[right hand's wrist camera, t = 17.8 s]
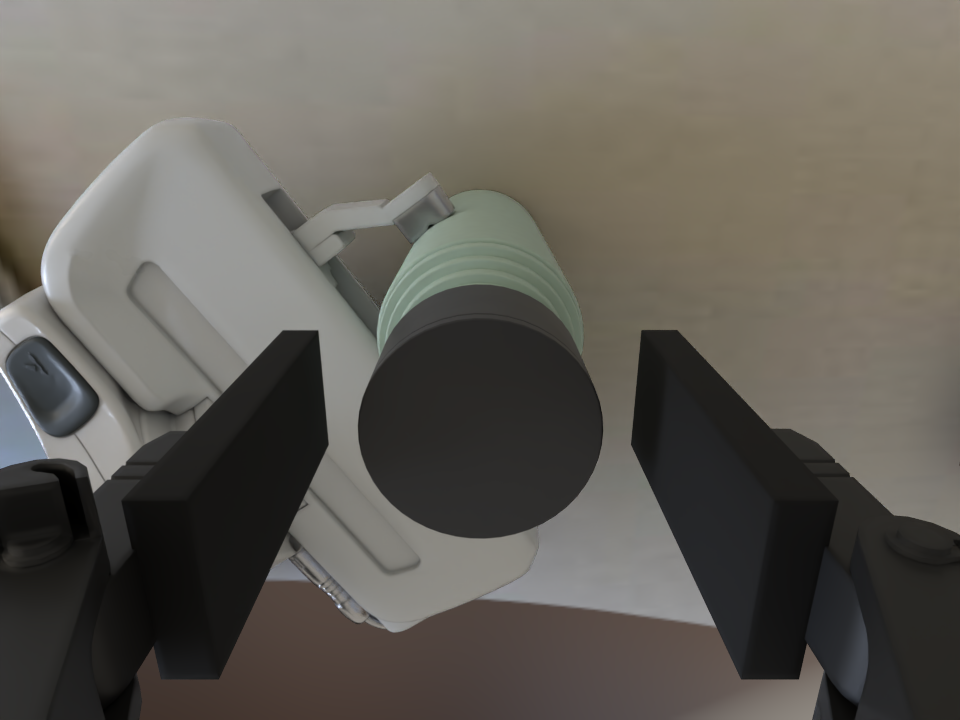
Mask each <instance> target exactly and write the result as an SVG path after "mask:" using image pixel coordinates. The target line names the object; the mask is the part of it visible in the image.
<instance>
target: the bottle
mask: <svg viewBox="0 0 960 720" xmlns="http://www.w3.org/2000/svg"><path fill="white" fill-rule="evenodd" d="M449 199H450V201H451V202H452V203H453V205H454V206H455V209H454V212H453V213H452V214H450V215H449V216H448V217H447V218H446V219H444V220H443V221H441V222H439V223H437V224H430V226H429V228H428V230H427V231H426V232H425V233H424V234H423V235H422V236H421V237H420V238H418V239H417V240H416V241H415V242H414V244H413V246H412V248H411V250H410V251H409V253H408V255H407V257H406V259H405V261H404V262H403V264H402V266H401V268H400V270H399V272H398V273H397V275H396V277H395V279H394V281H393V282H392V284H391V286H390V288H389V290H388V292H387V294H386V296H385V299H384V301H383V303H382V306H381V310H380V314H379V318H378V326H377V345H378V352H379V357H380V355H381V352H382V350H383V348H384V345H385V343H386V341H387V339H388V337H389V335H390V334H391V332H392V330H393V329H394V327H395V326H396V325H397V324H398V322H399V321H400V320H401V318H402V317H403V316H405V315H406V314H407V313H408V312H409V311H410V310H411V309H412V308H413V307H415V306H416V305H417V304H419V303H420V302H422V301H423V300H425V299H427V298H429V297H430V296H432V295H434V294H437V293H439V292H442V291H444V290H447V289H451V288H455V287H459V286H465V285H474V284H482V285H495V286H502V287H506V288H510V289H513V290H517V291H519V292H522V293H524V294H526V295H529V296H531V297H532V298H534V299H536V300H537V301H539V302H541V303H542V304H543V305H545V306H546V307H547V308H549V309H550V310H551V311H552V312H553V313H554V314H555V315H556V316H557V317H558V318H559V319H560V320H561V321H562V322H563V324H564V325H565V327H566V328H567V329H568V331H569V332H570V334H571V336H572V338H573V340H574V342H575V344H576V346H577V348H578V350H579V353H580V355H582V350H583V341H584V331H583V321H582V315H581V311H580V308H579V305H578V301H577V299H576V297H575V295H574V293H573V291H572V289H571V287H570V285H569V283H568V281H567V280H566V278H565V276H564V274H563V272H562V270H561V269H560V267H559V265H558V263H557V261H556V260H555V258H554V256H553V254H552V252H551V250H550V249H549V247H548V245H547V243H546V241H545V240H544V238H543V236H542V234H541V232H540V230H539V229H538V227H537V225H536V223H535V221H534V220H533V218H532V217H531V215H530V214H529V213H528V212H527V210H526V209H525V208H524V207H523V206H522V205H520V204H519V203H518V202H517V201H515V200H514V199H512V198H510V197H508V196H506V195H504V194H502V193H499V192H495V191H490V190H470V191H465V192H462V193H459V194H456V195H454V196H452V197H450V198H449Z"/></svg>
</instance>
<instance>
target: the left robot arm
mask: <svg viewBox="0 0 960 720" xmlns="http://www.w3.org/2000/svg"><path fill="white" fill-rule="evenodd" d="M438 184H439V183H438V181H437V180H436V179H435V177H434V176H433V175H432V173H431V172H429V173H428V174H426V175H425V176H423V177H422V178H421V179H419V180H418V181H417V182H415V183H414V184H413V185H411V186H410V187H409V188H407V189H406V190H405V191H403V192H402V193H401V194H399V195H398V196H397V197H395V198H394V199H393V200H392V201H389V200H388V199H380V200H370V201H359V202H349V203H339V204H333V205H331V206H329V207H327V208H325V209H324V210H322V211H320V212H319V213H317V214H316V215H315V216H313V217H312V218H311V219H308V218H307V217H306V215H305V214H304V213H303V212H302V210H301V209H300V208H299V207H298V205H297V204H296V203H295V201H294V200H293V199H292V198H291V196H290V195H289V194H288V193H287V191H286V190H285V189H284V188H283V186H282V185H281V184H280V183H279V181H278V180H277V179H276V178H275V176H274V175H273V174H272V173H271V171H270V170H269V169H268V167H267V166H266V165H265V164H264V162H263V161H262V160H261V159H260V157H259V156H258V155H257V154H256V152H255V151H254V150H253V149H252V147H251V146H250V145H249V143H248V142H247V141H246V140H245V138H244V137H243V136H242V134H241V133H240V132H239V131H238V130H237V129H236V128H235V127H234V126H233V125H231V124H229V123H227V122H224V121H218V120H212V119H205V118H196V117H178V118H171V119H167V120H163V121H161V122H159V123H156V124H155V125H153V126H152V127H150V128H148V129H147V130H146V131H145V132H143V133H142V134H141V135H140V136H139V137H138V138H136V139H135V140H134V141H133V142H132V143H131V144H130V145H129V146H128V147H127V148H126V149H124V150H123V151H122V152H121V153H120V154H119V155H118V156H117V157H116V158H115V159H114V160H113V161H112V162H111V163H110V164H109V165H108V166H107V167H106V168H105V169H104V170H103V172H102V173H101V174H100V175H99V176H98V177H97V178H96V179H95V180H94V181H93V182H92V183H91V185H90V186H89V187H88V188H87V189H86V190H85V191H84V193H83V194H82V195H81V196H80V197H79V198H78V199H77V201H76V202H75V203H74V204H73V206H72V207H71V208H70V209H69V211H68V212H67V213H66V214H65V216H64V217H63V218H62V219H61V221H60V222H59V224H58V225H57V226H56V228H55V229H54V231H53V232H52V234H51V236H50V238H49V240H48V242H47V244H46V247H45V250H44V253H43V257H42V263H41V278H42V284H43V285H42V286H40V287H38V288H36V289H34V290H32V291H30V292H28V293H26V294H25V295H23V296H22V297H20V298H18V299H17V300H15V301H14V302H12V303H10V304H9V305H7V306H6V307H4V308H3V309H1V310H0V373H1V374H2V376H3V377H4V379H5V381H6V382H7V384H8V386H9V387H10V389H11V391H12V392H13V394H14V396H15V397H16V399H17V401H18V402H19V404H20V406H21V407H22V409H23V411H24V413H25V415H26V416H27V418H28V420H29V422H30V424H31V425H32V427H33V429H34V431H35V433H36V435H37V437H38V439H39V441H40V443H41V445H42V447H43V449H44V451H45V453H46V456H47V458H48V459H55V458H62V459H69V460H76V461H78V462H80V463H81V464H83V465H85V466H86V467H87V470H88V474H89V478H90V482H91V486H92V490H93V493H94V492H95V491H96V490H97V489H98V488H99V487H100V486H101V485H102V484H103V483H104V482H105V481H106V480H111V476H112V475H113V474H114V473H115V472H116V471H117V470H118V469H119V468H120V467H121V466H122V465H126V461H127V460H128V459H129V458H130V457H131V456H132V455H134V454H135V453H136V452H137V451H138V450H139V449H140V448H141V447H142V446H143V445H145V444H147V443H148V442H150V441H152V440H154V439H156V438H158V437H160V436H162V435H164V434H165V433H167V432H169V431H188V430H189V428H190V427H191V426H192V425H193V424H194V423H195V422H196V421H197V420H198V419H199V418H200V417H201V416H202V415H203V414H204V413H205V412H206V411H207V410H208V408H209V407H210V406H211V405H212V404H213V403H214V402H215V401H216V400H217V399H218V398H219V397H220V396H221V395H222V394H223V393H224V392H225V391H226V389H227V388H228V387H229V386H230V385H231V384H232V383H233V382H234V381H235V380H236V379H237V378H238V377H239V376H240V375H241V374H242V373H243V372H244V371H245V369H246V368H247V367H248V366H249V365H250V364H251V363H252V362H253V361H254V360H255V359H256V358H257V357H258V356H259V355H260V354H261V353H262V352H263V351H264V349H265V348H266V347H267V346H268V345H269V344H270V343H271V342H272V341H273V340H274V339H275V338H276V337H277V336H278V335H279V334H280V333H281V332H282V331H283V330H318V331H319V342H320V353H321V364H322V375H323V386H324V397H325V407H326V418H327V429H328V440H329V445H328V448H327V450H326V452H325V454H324V456H323V458H322V460H321V463H320V465H319V467H318V469H317V471H316V473H315V475H314V477H313V480H312V482H311V484H310V486H309V488H308V490H307V492H306V495H305V497H304V499H303V501H302V503H301V505H300V507H299V509H298V512H297V514H296V516H295V518H294V520H293V522H292V524H291V526H290V529H289V531H288V533H287V535H286V537H285V539H284V541H283V544H282V546H281V548H280V550H279V552H278V554H277V556H276V558H275V561H274V563H273V565H272V567H271V569H273V568H274V567H276V566H277V565H279V564H281V563H282V562H284V561H285V560H287V559H289V560H290V561H291V562H292V563H293V564H294V565H295V566H296V567H297V568H298V569H299V570H300V571H301V572H302V573H303V574H304V575H305V576H306V577H307V578H308V579H309V580H310V581H311V582H312V583H313V584H314V585H316V586H317V587H318V588H320V589H321V590H322V591H323V592H325V593H326V594H327V595H328V596H329V597H330V598H331V599H332V600H333V601H334V602H335V605H336V607H337V608H338V610H339V611H340V612H341V613H342V614H343V615H344V616H345V617H346V618H348V619H349V620H351V621H352V622H354V623H356V624H361V623H363V622H366V623H367V624H369V625H371V626H374V627H376V628H380V629H386V630H389V631H391V632H400V631H404V630H406V629H409V628H411V627H412V626H414V625H416V624H417V623H419V622H421V621H423V620H424V619H426V618H428V617H430V616H433V615H436V614H438V613H441V612H444V611H447V610H450V609H452V608H455V607H457V606H460V605H462V604H464V603H467V602H469V601H472V600H474V599H476V598H479V597H481V596H483V595H485V594H488V593H490V592H492V591H494V590H496V589H498V588H500V587H503V586H505V585H507V584H509V583H511V582H513V581H514V580H516V579H518V578H520V577H521V576H523V575H524V574H525V573H527V572H528V570H529V569H530V568H531V566H532V564H533V561H534V559H535V556H536V553H537V550H538V547H539V534H538V526H536V527H534V528H532V529H530V530H527V531H524V532H521V533H517V534H514V535H509V536H504V537H498V538H488V539H473V538H463V537H456V536H451V535H447V534H443V533H440V532H437V531H434V530H432V529H429V528H426V527H424V526H422V525H421V524H419V523H417V522H415V521H413V520H411V519H410V518H408V517H407V516H405V515H404V514H402V513H401V512H400V511H399V510H398V509H396V508H395V507H394V506H393V505H392V504H391V503H390V502H389V501H388V500H387V499H386V498H385V497H384V496H383V495H382V494H381V492H380V491H379V489H378V488H377V487H376V485H375V484H374V482H373V481H372V479H371V477H370V475H369V473H368V471H367V469H366V467H365V464H364V461H363V458H362V455H361V451H360V446H359V441H358V418H359V410H360V406H361V402H362V398H363V395H364V393H365V390H366V388H367V385H368V383H369V380H370V378H371V376H372V373H373V371H374V369H375V366H376V364H377V362H378V359H379V352H378V345H377V326H378V318H379V314H380V309H379V307H378V306H377V305H376V304H375V302H374V301H373V300H372V299H371V297H370V296H369V295H368V294H367V292H366V291H365V290H364V289H363V287H362V286H361V285H360V283H359V282H358V281H357V280H356V278H355V277H354V276H353V275H352V273H351V272H350V271H349V270H348V268H347V267H346V266H345V265H344V263H343V262H342V261H341V260H340V258H339V257H338V256H337V254H338V253H339V252H340V251H341V250H343V249H344V248H345V247H346V246H347V245H348V244H349V243H350V242H351V241H353V240H354V239H355V236H356V234H355V232H354V231H353V229H361V228H370V227H379V226H388V225H395V224H396V226H397V227H398V228H399V230H400V231H401V232H402V233H403V235H404V236H405V237H406V239H407V240H408V241H409V242H410V244H411V243H413V242H414V241H415V240H417V239H418V238H420V237H421V236H422V235H423V234H424V233H425V232H426V231H427V230H428V228H429V226H430V224H437V223H439V222H441V221H443V220H444V219H446V218H447V217H448V216H449V215H450V214H452V213H453V212H454V209H455V206H454V205H453V203H452V202H451V201H450V199H449V198H448V196H447V195H446V193H445V192H444V190H443V189H442V187H441V186H440V184H439V185H438ZM271 569H270V570H271Z"/></svg>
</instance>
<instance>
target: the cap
mask: <svg viewBox="0 0 960 720" xmlns="http://www.w3.org/2000/svg"><path fill="white" fill-rule="evenodd" d="M602 436H603V419H602V412H601V407H600V402H599V399H598V396H597V393H596V390H595V388H594V385H593V383H592V381H591V378H590V376H589V374H588V371H587V369H586V367H585V364H584V362H583V360H582V357H581V355H580V353H579V350H578V348H577V346H576V344H575V342H574V340H573V338H572V336H571V334H570V332H569V331H568V329H567V328H566V327H565V325H564V324H563V322H562V321H561V320H560V319H559V318H558V317H557V316H556V315H555V314H554V313H553V312H552V311H551V310H550V309H549V308H547V307H546V306H545V305H543V304H542V303H541V302H539V301H537V300H536V299H534V298H532V297H531V296H529V295H526V294H524V293H522V292H519V291H517V290H513V289H510V288H506V287H502V286H495V285H482V284H474V285H465V286H459V287H455V288H451V289H447V290H444V291H442V292H439V293H437V294H434V295H432V296H430V297H429V298H427V299H425V300H423V301H422V302H420V303H419V304H417V305H416V306H415V307H413V308H412V309H411V310H410V311H409V312H408V313H407V314H406V315H405V316H403V317H402V318H401V320H400V321H399V322H398V324H397V325H396V326H395V327H394V329H393V330H392V332H391V334H390V335H389V337H388V339H387V341H386V343H385V345H384V348H383V350H382V352H381V355H380V357H379V359H378V362H377V364H376V366H375V369H374V371H373V373H372V376H371V378H370V380H369V383H368V385H367V388H366V390H365V393H364V395H363V398H362V402H361V406H360V410H359V418H358V441H359V446H360V451H361V455H362V458H363V461H364V464H365V467H366V469H367V471H368V473H369V475H370V477H371V479H372V481H373V482H374V484H375V485H376V487H377V488H378V489H379V491H380V492H381V494H382V495H383V496H384V497H385V498H386V499H387V500H388V501H389V502H390V503H391V504H392V505H393V506H394V507H395V508H396V509H398V510H399V511H400V512H401V513H402V514H404V515H405V516H407V517H408V518H410V519H411V520H413V521H415V522H417V523H419V524H421V525H422V526H424V527H426V528H429V529H432V530H434V531H437V532H440V533H443V534H447V535H451V536H456V537H463V538H473V539H488V538H498V537H504V536H509V535H514V534H517V533H521V532H524V531H527V530H530V529H532V528H534V527H536V526H538V525H540V524H543V523H544V522H546V521H548V520H549V519H551V518H552V517H554V516H556V515H557V514H558V513H559V512H561V511H562V510H563V509H565V508H566V507H567V506H568V505H569V504H570V503H571V502H572V501H573V500H574V499H575V498H576V497H577V496H578V494H579V493H580V492H581V490H582V489H583V488H584V486H585V485H586V483H587V482H588V480H589V478H590V476H591V475H592V473H593V471H594V468H595V466H596V463H597V461H598V458H599V454H600V450H601V446H602Z"/></svg>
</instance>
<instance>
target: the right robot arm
mask: <svg viewBox="0 0 960 720" xmlns="http://www.w3.org/2000/svg"><path fill="white" fill-rule="evenodd" d="M328 445H329V440H328V429H327V418H326V407H325V397H324V386H323V375H322V364H321V353H320V342H319V331H318V330H283V331H282V332H281V333H280V334H279V335H278V336H277V337H276V338H275V339H274V340H273V341H272V342H271V343H270V344H269V345H268V346H267V347H266V348H265V349H264V351H263V352H262V353H261V354H260V355H259V356H258V357H257V358H256V359H255V360H254V361H253V362H252V363H251V364H250V365H249V366H248V367H247V368H246V369H245V371H244V372H243V373H242V374H241V375H240V376H239V377H238V378H237V379H236V380H235V381H234V382H233V383H232V384H231V385H230V386H229V387H228V388H227V389H226V391H225V392H224V393H223V394H222V395H221V396H220V397H219V398H218V399H217V400H216V401H215V402H214V403H213V404H212V405H211V406H210V407H209V408H208V410H207V411H206V412H205V413H204V414H203V415H202V416H201V417H200V418H199V419H198V420H197V421H196V422H195V423H194V424H193V425H192V426H191V427H190V428H189V430H188V431H169V432H167V433H165V434H164V435H162V436H160V437H158V438H156V439H154V440H152V441H150V442H148V443H147V444H145V445H143V446H142V447H141V448H140V449H139V450H138V451H137V452H136V453H135V454H134V455H132V456H131V457H130V458H129V459H128V460H127V461H126V465H122V466H121V467H120V468H119V469H118V470H117V471H116V472H115V473H114V474H113V475H112V476H111V480H106V481H105V482H104V483H103V484H102V485H101V486H100V487H99V488H98V489H97V490H96V491H95V492H94V493H93V490H92V486H91V482H90V478H89V474H88V470H87V467H86V466H85V465H83V464H81V463H80V462H78V461H76V460H69V459H62V458H55V459H41V460H33V461H29V462H24V463H19V464H15V465H10V466H7V467H5V468H2V469H0V720H139V717H140V711H141V703H142V698H141V691H140V686H139V681H138V677H137V671H138V669H139V668H140V666H141V665H142V663H143V661H144V660H145V658H146V656H147V655H148V653H149V652H150V650H151V649H152V647H153V645H154V650H155V654H156V659H157V663H158V667H159V672H160V676H161V679H219V678H220V676H221V674H222V671H223V669H224V667H225V665H226V663H227V661H228V659H229V656H230V654H231V652H232V650H233V648H234V646H235V644H236V642H237V639H238V637H239V635H240V633H241V631H242V629H243V627H244V625H245V622H246V620H247V618H248V616H249V614H250V612H251V610H252V607H253V605H254V603H255V601H256V599H257V597H258V595H259V593H260V590H261V588H262V586H263V584H264V582H265V580H266V578H267V576H268V573H269V571H270V569H271V567H272V565H273V563H274V561H275V558H276V556H277V554H278V552H279V550H280V548H281V546H282V544H283V541H284V539H285V537H286V535H287V533H288V531H289V529H290V526H291V524H292V522H293V520H294V518H295V516H296V514H297V512H298V509H299V507H300V505H301V503H302V501H303V499H304V497H305V495H306V492H307V490H308V488H309V486H310V484H311V482H312V480H313V477H314V475H315V473H316V471H317V469H318V467H319V465H320V463H321V460H322V458H323V456H324V454H325V452H326V450H327V448H328ZM631 445H632V448H633V450H634V452H635V454H636V456H637V458H638V460H639V463H640V465H641V467H642V469H643V471H644V473H645V475H646V477H647V480H648V482H649V484H650V486H651V488H652V490H653V492H654V495H655V497H656V499H657V501H658V503H659V505H660V507H661V509H662V512H663V514H664V516H665V518H666V520H667V522H668V524H669V526H670V529H671V531H672V533H673V535H674V537H675V539H676V541H677V544H678V546H679V548H680V550H681V552H682V554H683V556H684V558H685V561H686V563H687V565H688V567H689V569H690V571H691V573H692V576H693V578H694V580H695V582H696V584H697V586H698V588H699V590H700V593H701V595H702V597H703V599H704V601H705V603H706V605H707V607H708V610H709V612H710V614H711V616H712V618H713V620H714V622H715V625H716V627H717V629H718V631H719V633H720V635H721V637H722V639H723V642H724V644H725V646H726V648H727V650H728V652H729V654H730V656H731V659H732V661H733V663H734V665H735V667H736V669H737V671H738V674H739V676H740V678H741V679H799V676H800V672H801V667H802V663H803V658H804V654H805V650H806V645H807V644H808V645H809V647H810V648H811V650H812V652H813V653H814V655H815V656H816V658H817V659H818V661H819V663H820V664H821V666H822V667H823V669H824V673H823V677H822V681H821V686H820V690H819V694H818V698H817V702H816V707H815V710H814V715H813V719H812V720H960V535H959V534H957V533H955V532H953V531H950V530H948V529H946V528H943V527H941V526H938V525H936V524H934V523H931V522H927V521H923V520H919V519H915V518H911V517H905V516H894V515H893V514H892V513H890V512H889V511H888V510H887V509H886V508H885V507H884V506H883V505H882V504H881V503H880V502H879V501H878V500H877V499H876V498H875V497H874V496H873V495H872V494H870V493H869V492H868V491H867V490H866V489H865V488H864V487H863V486H862V485H861V484H860V483H859V482H858V481H857V480H856V479H855V478H854V477H850V476H849V473H848V472H847V471H846V470H845V469H844V468H843V467H842V466H841V465H840V464H839V463H835V459H834V458H833V457H832V456H830V455H829V454H828V453H827V452H826V451H825V450H824V449H823V448H822V447H821V446H820V445H819V444H818V443H816V442H814V441H813V440H811V439H809V438H807V437H805V436H803V435H801V434H799V433H797V432H795V431H793V430H792V429H771V428H770V427H769V426H768V425H767V424H766V423H765V422H764V421H763V420H762V419H761V418H760V417H759V416H758V415H757V414H756V413H755V412H754V411H753V410H752V408H751V407H750V406H749V405H748V404H747V403H746V402H745V401H744V400H743V399H742V398H741V397H740V396H739V395H738V394H737V393H736V392H735V391H734V389H733V388H732V387H731V386H730V385H729V384H728V383H727V382H726V381H725V380H724V379H723V378H722V377H721V376H720V375H719V374H718V373H717V372H716V371H715V369H714V368H713V367H712V366H711V365H710V364H709V363H708V362H707V361H706V360H705V359H704V358H703V357H702V356H701V355H700V354H699V353H698V352H697V351H696V349H695V348H694V347H693V346H692V345H691V344H690V343H689V342H688V341H687V340H686V339H685V338H684V337H683V336H682V335H681V334H680V333H679V332H678V331H677V330H642V331H641V342H640V353H639V364H638V375H637V386H636V397H635V407H634V418H633V429H632V440H631Z"/></svg>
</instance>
